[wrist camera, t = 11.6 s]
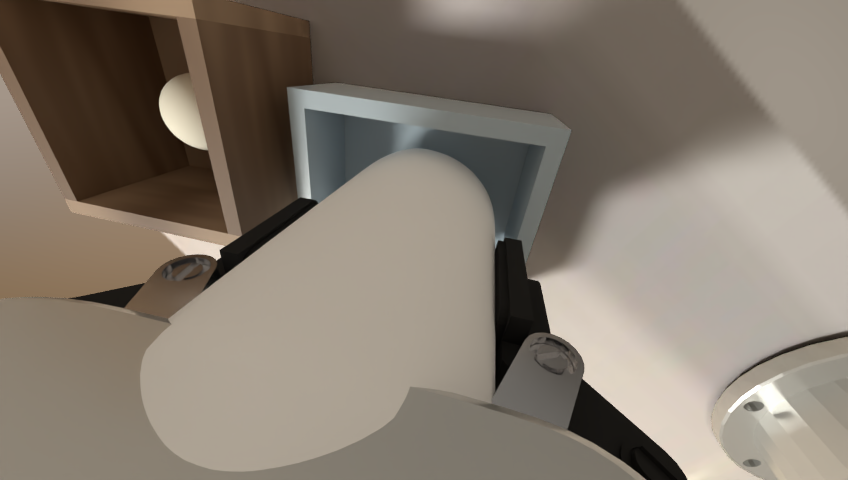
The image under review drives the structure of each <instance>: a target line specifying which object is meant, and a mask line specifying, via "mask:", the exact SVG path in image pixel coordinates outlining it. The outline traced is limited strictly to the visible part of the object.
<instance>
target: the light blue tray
mask: <svg viewBox="0 0 848 480" xmlns="http://www.w3.org/2000/svg"><path fill="white" fill-rule="evenodd" d="M287 95H288V105H289V115H290V125H291V135H292V145H293V155H294V165H295V175H296V185H297V195H298V198H300V197H302V198H307V199H313V200H316V201H317V202H318V204H319V203H320V202H321V201H323V200H324V199H325V198H327V197H328V196H329V195H331V194H332V193H333V192H335V191H336V190H337V189H339V188H340V187H341V186H343V185H344V184H345V183H347V182H348V181H349V180H351V179H352V178H353V177H355V176H356V175H357V174H359V173H360V172H361V171H363V170H364V169H365V168H367V167H368V166H370V165H371V164H373V163H374V162H376V161H377V160H379V159H381V158H383V157H385V156H387V155H389V154H392V153H394V152H397V151H401V150H406V149H413V148H422V149H429V150H433V151H436V152H440V153H443V154H445V155H448V156H450V157H452V158H454V159H456V160H457V161H459V162H461V163H462V164H463V165H465V166H466V167H467V168H468V169H470V170H471V171H472V172H473V173H474V174H475V175H476V176H477V178H478V179H479V180H480V181H481V183H482V184H483V186H484V187H485V189H486V191H487V193H488V195H489V198H490V200H491V203H492V207H493V212H494V219H495V249H496V245H497V242H498V240H501V241H504V238H505V237H506V238H511V239H516V240H521V241H522V246H523V253H524V259H525V265H526V262H527V259H528V256H529V253H530V250H531V247H532V244H533V242H534V239H535V236H536V233H537V230H538V227H539V224H540V221H541V218H542V215H543V212H544V210H545V207H546V204H547V201H548V198H549V195H550V192H551V189H552V186H553V183H554V180H555V178H556V175H557V172H558V169H559V166H560V163H561V160H562V157H563V154H564V151H565V149H566V146H567V143H568V140H569V137H570V134H571V131H572V130H571V129H569V128H568V127H567V126H566V125H564V124H563V123H562V122H561V121H559V120H558V119H557V118H556V117H554V116H553V115H552V114H548V113H541V112H534V111H527V110H520V109H514V108H507V107H500V106H493V105H486V104H479V103H473V102H466V101H459V100H452V99H445V98H439V97H432V96H425V95H418V94H411V93H405V92H398V91H391V90H384V89H377V88H370V87H364V86H357V85H350V84H343V83H327V84H316V85H305V86H293V87H287Z"/></svg>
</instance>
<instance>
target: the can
mask: <svg viewBox="0 0 848 480" xmlns="http://www.w3.org/2000/svg"><path fill="white" fill-rule="evenodd" d="M168 320H169V321H170V323H171V325H170V326H169V327H168V328H167V329H166V330H164V331H163V332H162V333H161V334H160V335H159V336H158V337H157V339H156V340H155V341H154V342H153V343H152V344H151V345H150V346H149V347H148V348H147V349H146V351H145V354H144V356H143V359H142V365H141V371H140V389H141V396H142V401H143V405H144V408H145V411H146V414H147V417H148V419H149V421H150V423H151V425H152V427H153V429H154V430H155V432H156V434H157V435H158V437H159V438H160V439H161V441H162V442H163V443H164V445H165V446H166V447H168V448H169V449H170V450H171V451H172V452H173V453H174V454H176V455H177V456H179V457H180V458H182V459H183V460H185V461H188V462H190V463H193V464H195V465H198V466H201V467H204V468H208V469H211V470H219V471H231V472H246V471H257V470H265V469H270V468H277V467H282V466H287V465H291V464H296V463H300V462H303V461H307V460H310V459H314V458H317V457H320V456H323V455H326V454H329V453H331V452H334V451H337V450H339V449H342V448H344V447H346V446H348V445H350V444H353V443H355V442H357V441H359V440H361V439H363V438H365V437H367V436H368V435H370V434H372V433H374V432H375V431H377V430H379V429H381V428H382V427H383V426H385V425H386V424H387V423H388V422H390V421H391V420H392V419H393V418H394V417H395V416H396V414H397V412H398V410H399V409H400V407H401V405H402V404H403V402H404V400H405V398H406V396H407V394H408V391H409V388H410V387H419V388H428V389H435V390H441V391H447V392H453V393H456V394H460V395H463V396H467V397H470V398H474V399H477V400H481V401H484V402H488V403H491V404H492V398H493V396H494V394H495V219H494V212H493V207H492V203H491V200H490V198H489V195H488V193H487V191H486V189H485V187H484V186H483V184H482V183H481V181H480V180H479V179H478V178H477V176H476V175H475V174H474V173H473V172H472V171H471V170H470V169H468V168H467V167H466V166H465V165H463V164H462V163H461V162H459V161H457V160H456V159H454V158H452V157H450V156H448V155H445V154H443V153H440V152H436V151H433V150H429V149H422V148H413V149H406V150H401V151H397V152H394V153H392V154H389V155H387V156H385V157H383V158H381V159H379V160H377V161H376V162H374V163H373V164H371V165H370V166H368V167H367V168H365V169H364V170H363V171H361V172H360V173H359V174H357V175H356V176H355V177H353V178H352V179H351V180H349V181H348V182H347V183H345V184H344V185H343V186H341V187H340V188H339V189H337V190H336V191H335V192H333V193H332V194H331V195H329V196H328V197H327V198H325V199H324V200H323V201H321V202H320V203H319V204H317V205H316V206H315V207H313V208H312V209H311V210H309V211H308V212H307V213H305V214H304V215H303V216H301V217H300V218H299V219H298V220H296V221H295V222H294V223H292V224H291V225H290V226H288V227H287V228H286V229H284V230H283V231H282V232H280V233H279V234H278V235H276V236H275V237H274V238H272V239H271V240H270V241H269V242H267V243H266V244H265V245H263V246H262V247H261V248H259V249H258V250H257V251H255V252H254V253H253V254H252V255H250V256H249V257H248V258H246V259H245V260H244V261H242V262H241V263H240V264H238V265H237V266H236V267H234V268H233V269H232V270H231V271H229V272H228V273H227V274H225V275H224V276H223V277H221V278H220V279H219V280H217V281H216V282H215V283H214V284H212V285H211V286H210V287H208V288H207V289H206V290H205V291H203V292H202V293H201V294H199V295H198V296H197V297H196V298H194V299H193V300H192V301H190V302H189V303H188V304H186V305H185V306H184V307H183V308H181V309H180V310H179V311H177V312H176V313H175V314H174V315H172V316H171V317H170V318H168Z"/></svg>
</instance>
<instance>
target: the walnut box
mask: <svg viewBox="0 0 848 480" xmlns="http://www.w3.org/2000/svg"><path fill="white" fill-rule="evenodd" d="M184 73H190V77H191V81H192V85H193V89H194V94H195V98H196V102H197V106H198V110H199V114H200V119H201V123H202V127H203V131H204V135H205V140H206V144H207V148H208V150H202V149H198V148H195V147H192V146H190V145H188V144H186V143H184V142H183V141H181V140H180V139H179V138H177V137H176V136H175V135H174V134H173V133H172V132H171V131H170V130H169V128H168V127H167V126H166V124H165V122H164V121H163V118H162V116H161V113H160V108H159V98H160V94H161V91H162V89H163V87H164V86H165V84H166V83H167V82H168V81H169V80H171V79H172V78H174V77H176V76H178V75H181V74H184ZM0 74H1V76H2V78H3V80H4V82H5V83H6V86H7V88H8V90H9V91H10V93H11V95H12V97H13V99H14V101H15V103H16V105H17V107H18V109H19V111H20V113H21V115H22V117H23V119H24V121H25V122H26V124H27V126H28V128H29V130H30V132H31V134H32V136H33V138H34V140H35V142H36V144H37V146H38V148H39V150H40V152H41V153H42V155H43V158H44V159H45V161H46V163H47V165H48V167H49V169H50V171H51V173H52V175H53V177H54V179H55V181H56V183H57V185H58V187H59V189H60V191H61V193H62V195H63V196H64V198H65V200H66V202H67V204H68V206H69V208H70V210H71V212H73V213H78V214H83V215H88V216H92V217H96V218H101V219H106V220H110V221H115V222H119V223H124V224H128V225H133V226H137V227H142V228H147V229H151V230H156V231H160V232H165V233H169V234H174V235H178V236H183V237H188V238H192V239H197V240H201V241H206V242H210V243H215V244H219V245H224V246H227V245H228V244H230V243H231V242H233V241H234V240H236V239H237V238H239V237H240V236H242V235H244V234H245V233H247V232H248V231H250V230H251V229H253V228H254V227H256V226H257V225H259V224H260V223H262V222H263V221H265V220H266V219H268V218H269V217H271V216H272V215H274V214H276V213H277V212H279V211H280V210H282V209H283V208H285V207H286V206H288V205H289V204H291V203H292V202H294V201H295V200H297V199H298V195H297V185H296V175H295V165H294V155H293V145H292V135H291V125H290V115H289V105H288V95H287V87H293V86H305V85H313V77H312V60H311V44H310V28H309V21H307V20H303V19H299V18H295V17H291V16H287V15H283V14H279V13H275V12H272V11H268V10H264V9H260V8H256V7H252V6H248V5H244V4H240V3H237V2H233V1H229V0H0Z"/></svg>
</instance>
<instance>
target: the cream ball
mask: <svg viewBox="0 0 848 480" xmlns="http://www.w3.org/2000/svg"><path fill="white" fill-rule="evenodd" d="M159 108H160V113H161V116H162V118H163V121H164V122H165V124H166V126H167V127H168V128H169V130H170V131H171V132H172V133H173V134H174V135H175V136H176V137H177V138H179V139H180V140H181V141H183V142H184V143H186V144H188V145H190V146H192V147H195V148H198V149H202V150H208V148H207V144H206V140H205V135H204V131H203V127H202V123H201V119H200V114H199V110H198V106H197V102H196V98H195V94H194V89H193V85H192V81H191V77H190V73H184V74H181V75H178V76H176V77H174V78H172V79H171V80H169V81H168V82H167V83H166V84H165V86H164V87H163V89H162V91H161V94H160V98H159Z"/></svg>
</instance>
